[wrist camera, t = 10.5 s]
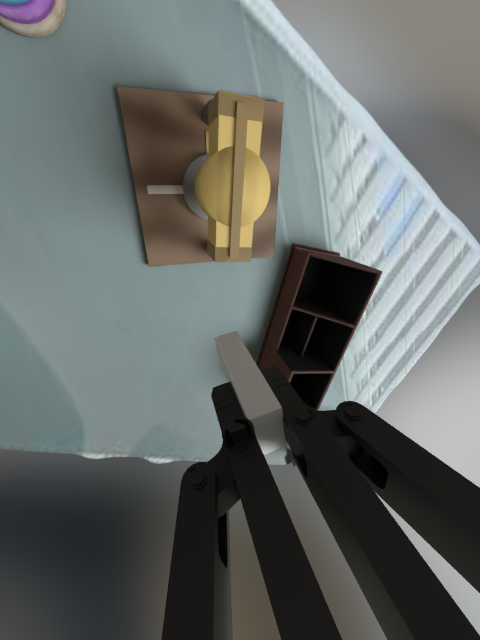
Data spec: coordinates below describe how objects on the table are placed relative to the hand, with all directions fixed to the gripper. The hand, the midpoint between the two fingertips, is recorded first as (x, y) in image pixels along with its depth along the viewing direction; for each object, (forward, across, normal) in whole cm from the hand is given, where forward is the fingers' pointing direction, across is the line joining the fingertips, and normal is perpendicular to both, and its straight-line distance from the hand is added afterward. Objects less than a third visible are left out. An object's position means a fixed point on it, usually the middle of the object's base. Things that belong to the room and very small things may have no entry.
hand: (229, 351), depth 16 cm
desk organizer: (+27, +17, -18) cm, 36 cm away
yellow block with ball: (+18, +6, +8) cm, 20 cm away
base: (+26, +6, +8) cm, 28 cm away
